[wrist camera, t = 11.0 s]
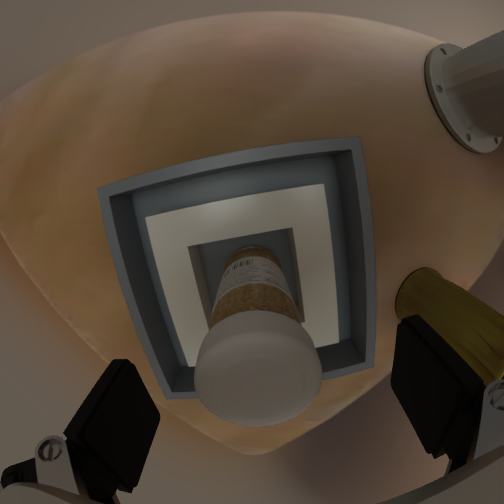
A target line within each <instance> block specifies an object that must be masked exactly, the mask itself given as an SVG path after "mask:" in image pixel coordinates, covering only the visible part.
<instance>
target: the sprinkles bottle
mask: <svg viewBox="0 0 504 504" xmlns="http://www.w3.org/2000/svg"><path fill="white" fill-rule="evenodd" d="M211 318H212V321H211V326H210V329H209V332H208V333H207V334H206V336H205V337H204V339H203V341H202V344H201V346H200V350H199V353H198V357H197V362H196V366H195V372H194V385H195V389H196V392H197V394H198V396H199V398H200V400H201V401H202V403H203V404H204V405H205V406H206V407H207V408H208V409H209V410H210V411H211V412H212V413H214V414H215V415H216V416H218V417H220V418H222V419H224V420H226V421H229V422H232V423H235V424H239V425H245V426H267V425H273V424H278V423H281V422H284V421H287V420H289V419H291V418H293V417H295V416H297V415H299V414H300V413H301V412H303V411H304V410H305V409H307V408H308V407H309V405H310V404H311V403H312V402H313V401H314V399H315V398H316V396H317V395H318V393H319V390H320V388H321V384H322V379H323V374H322V366H321V363H320V360H319V356H318V354H317V351H316V348H315V346H314V343H313V341H312V338H311V337H310V335H309V333H308V332H307V331H306V330H305V329H304V328H303V327H302V325H301V322H300V319H299V316H298V311H297V308H296V305H295V303H294V300H293V298H292V295H291V293H290V290H289V287H288V285H287V282H286V279H285V277H284V274H283V272H282V268H281V266H280V262H279V260H278V258H277V257H276V256H275V255H274V254H273V253H272V252H271V251H270V250H268V249H266V248H264V247H261V246H254V245H251V246H246V247H242V248H240V249H239V250H236V251H235V252H234V253H233V254H232V255H231V256H230V257H229V258H228V260H227V262H226V265H225V267H224V274H223V276H222V279H221V282H220V285H219V289H218V292H217V296H216V299H215V303H214V307H213V310H212V316H211Z"/></svg>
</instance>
